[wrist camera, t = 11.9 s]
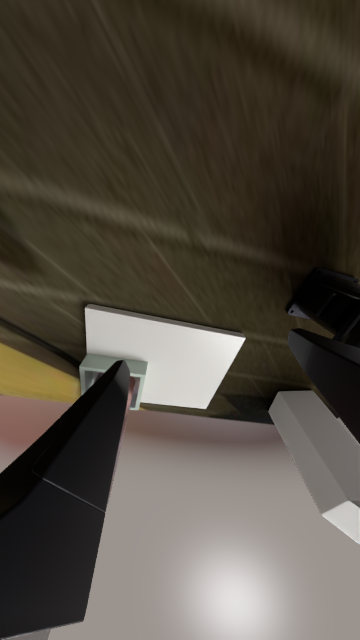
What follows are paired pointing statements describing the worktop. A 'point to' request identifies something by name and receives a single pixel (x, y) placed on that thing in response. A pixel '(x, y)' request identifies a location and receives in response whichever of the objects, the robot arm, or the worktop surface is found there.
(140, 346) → the housing plate
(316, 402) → the milk carton
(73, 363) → the worktop surface
